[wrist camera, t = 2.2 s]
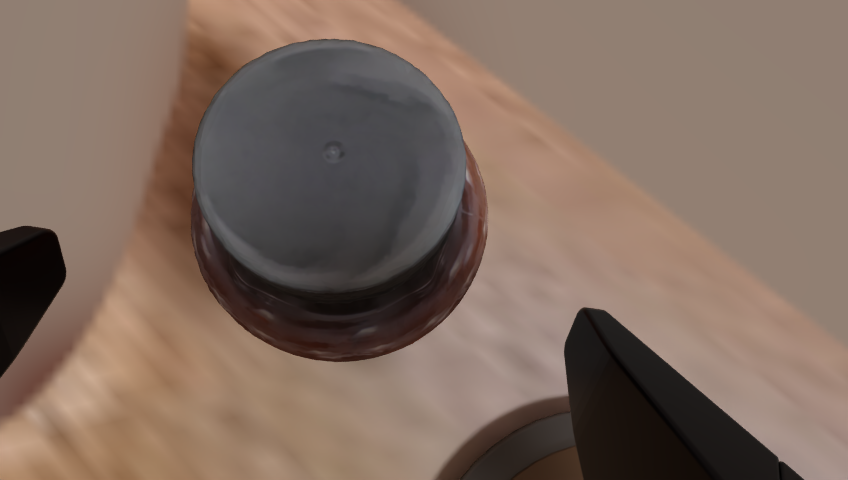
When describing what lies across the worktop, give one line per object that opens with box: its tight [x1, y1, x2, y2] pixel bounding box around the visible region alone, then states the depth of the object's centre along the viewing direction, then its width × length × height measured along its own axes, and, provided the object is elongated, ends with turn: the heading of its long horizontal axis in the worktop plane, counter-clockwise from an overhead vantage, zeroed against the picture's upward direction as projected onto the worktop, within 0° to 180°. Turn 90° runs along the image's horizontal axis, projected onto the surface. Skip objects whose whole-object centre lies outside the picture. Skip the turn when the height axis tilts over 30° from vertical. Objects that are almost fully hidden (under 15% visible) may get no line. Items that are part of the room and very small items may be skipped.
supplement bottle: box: [191, 39, 488, 362], centre depth 13 cm, size 6×6×11 cm
